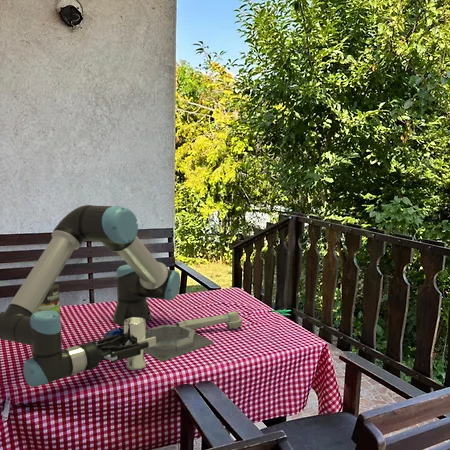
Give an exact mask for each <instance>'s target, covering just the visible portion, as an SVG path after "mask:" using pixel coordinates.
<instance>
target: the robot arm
mask: <svg viewBox="0 0 450 450" xmlns="http://www.w3.org/2000/svg"><path fill="white" fill-rule="evenodd" d="M137 221H138V219H137V216H136V214H135V213H134V212H133V211H132V210H131V209H130V208H128V207H126V206H125V207H123V206H119V205H92V204H86V205H81V206H79V207H77V208H75V209H72V210H71V211H70V212H69V213H68V214H66V215H65V216H64V217H63V218H62V219H61V220H60V221H59V222H58V224H57V225H56V227H55V228H54V229H53V231H52V232H51V237H52V238H51V240H50V242H49V243H48V245H46V247H45V249H44V250H43V252H42V254H41V255H40V256H39V259H38V260H37V262H35V265H34V266H33V267H32V269H31V270H30V272H29V274H28V275H27V276H26V279H25V280H24V281H23V283H22V284H21V286H20V288H19V289H18V290H17V292H16V294H15V296H14V297H13V298H12V300H11V301H10V303H9V304H8V306H7V307H6V309H5V310H2V311H0V340H3V341H7V342H8V341H9V342H14V343H19V344H24V345H27V346H31V352H32V353H31V354H32V357H30V358H28V359H26V360H25V361H24V362H23V367H22V369H23V377H24V380H25V381H26V383H27V385H28V386H29V387H30V388H31V387H32V388H34V387H38V386H39V387H40V386H43V385H47V384H48V385H49V384H50V383H52V382H55V381H58V380H61V379H64V378H67V377H70V376H72V377H73V376H75V375H76V374H79V373H83V372H84V371H85V372H86V371H87V372H88V371H89V370H93V369H96V368H97V367H98V366H99V364H100V362H103V361H108V360H109V361H110V363H111V364H115V363H116V362H119V361H123V360H127V358H130V357H133V356H137V355H140V354H141V350H143V349H146V348H149V347H152V346H155V345H156V337H151V338H148V339H145V340H143V341H139V342H137V343H136V344H130V345H125V340H124V332H121V333H120V334H117V333H116V334H113V335H110V336H108V337H104V338H102V339H97V340H93V341H89V342H86V343H82V344H79V345H75V346H71V347H69V348H65V349H64V348H63V349H62V324H61V314H60V315H59V313H58V312H56V311H53V310H48V311H47V310H43V311H38V312H36V311H37V310H38V308H39V307H40V305H41V303H42V302H43V300H44V298H45V297H46V295H47V293H48V292H49V290H50V288H51V287H52V285H53V284H55V282H56V280H57V279H58V277H59V276H60V274H61V272H62V270H63V269H64V267H65V266H66V264H67V263H68V261H69V259H70V257H71V256H72V254H73V252H74V251H75V250H79V248H80V247H81V245H83V243H84V242H86V241H89V242H91V241H92V242H99V243H102V244H103V245H104V247H105V248H107V250H109V251H111V252H113V253H117V254H118V255H119V256H120V257H121V258H122V260H123V261H124V262H125V263H127V264H123V265H120V266H119V267H118V268H117V269H116V277H115V278H116V290H117V291H116V294H117V298H116V299H117V303H116V306H115V310H114V313H113V322H114V323H115V324H117V325H120V326H124V321H125V320H126V319H128V318H132V317H141V318H144V319H145V320H146V323H148V322H150V321H151V320H152V312H151V310H150V306H149V304H148V301H147V300H148V298H149V299H157V300H164V301H172V300H174V299H175V298H176V297H177V296H178V294H179V291H180V287H181V275H180V273H179V272H178V270H174V269H173V270H171V269H169V268H168V267H167V265H165V264H164V263H163V262H159V261H157V259H156V257H154V256H153V254H152V253H151V252H150V251H149V249H147V247H146V246H145V244H144V243H143V242H142V241H141V240H140V238H139V237H138V236H137V235H138V231H139V223H138V222H137ZM123 344H124V345H123Z"/></svg>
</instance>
